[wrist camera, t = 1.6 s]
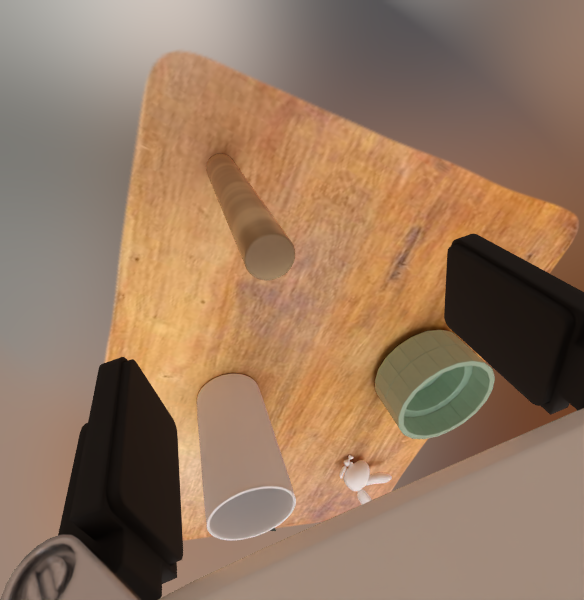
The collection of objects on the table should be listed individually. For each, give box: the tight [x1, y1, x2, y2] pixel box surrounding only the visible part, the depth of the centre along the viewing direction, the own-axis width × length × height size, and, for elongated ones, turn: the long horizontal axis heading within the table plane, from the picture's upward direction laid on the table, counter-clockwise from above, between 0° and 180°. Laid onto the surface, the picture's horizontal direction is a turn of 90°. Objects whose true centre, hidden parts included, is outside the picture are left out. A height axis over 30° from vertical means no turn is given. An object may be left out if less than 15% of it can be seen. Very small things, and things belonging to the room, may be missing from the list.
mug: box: [197, 374, 296, 540], centre depth 33 cm, size 10×7×12 cm, turn 9°
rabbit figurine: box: [339, 455, 392, 504], centre depth 50 cm, size 6×4×8 cm
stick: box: [206, 154, 295, 280], centre depth 20 cm, size 2×2×14 cm
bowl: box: [375, 330, 495, 439], centre depth 41 cm, size 11×11×6 cm
